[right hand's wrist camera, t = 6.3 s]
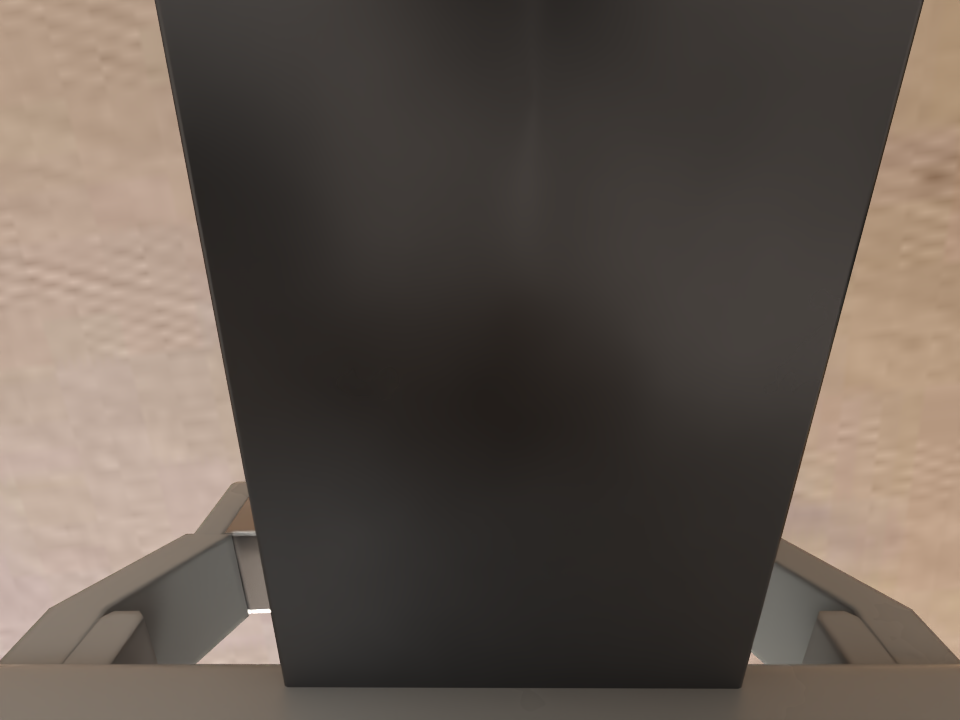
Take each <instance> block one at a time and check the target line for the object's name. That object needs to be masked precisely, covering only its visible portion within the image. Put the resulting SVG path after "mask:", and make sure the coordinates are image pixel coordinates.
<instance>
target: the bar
mask: <svg viewBox="0 0 960 720" xmlns="http://www.w3.org/2000/svg"><path fill="white" fill-rule="evenodd" d="M923 2H924V0H155V4H156V10H157V15H158V20H159V26H160V31H161V36H162V41H163V47H164V52H165V57H166V62H167V68H168V73H169V78H170V84H171V89H172V94H173V99H174V105H175V110H176V115H177V120H178V126H179V131H180V136H181V142H182V147H183V152H184V157H185V163H186V168H187V173H188V179H189V184H190V189H191V194H192V200H193V205H194V210H195V215H196V221H197V226H198V231H199V237H200V242H201V247H202V252H203V258H204V263H205V268H206V273H207V279H208V284H209V289H210V295H211V300H212V305H213V310H214V316H215V321H216V326H217V332H218V337H219V342H220V347H221V353H222V358H223V363H224V368H225V374H226V379H227V384H228V390H229V395H230V400H231V405H232V411H233V416H234V421H235V426H236V432H237V437H238V442H239V448H240V453H241V458H242V463H243V469H244V474H245V479H246V485H247V490H248V495H249V500H250V506H251V511H252V516H253V521H254V527H255V532H256V537H257V543H258V548H259V553H260V558H261V564H262V569H263V574H264V580H265V585H266V590H267V595H268V601H269V606H270V611H271V616H272V622H273V627H274V632H275V638H276V643H277V648H278V653H279V659H280V664H281V669H282V674H283V680H284V685H285V686H286V687H350V688H650V689H739V688H741V687H742V683H743V680H744V676H745V672H746V668H747V665H748V661H749V657H750V653H751V650H752V646H753V642H754V638H755V635H756V631H757V627H758V623H759V619H760V616H761V612H762V608H763V604H764V601H765V597H766V593H767V589H768V586H769V582H770V578H771V574H772V570H773V567H774V563H775V559H776V555H777V552H778V548H779V544H780V540H781V537H782V533H783V529H784V525H785V521H786V518H787V514H788V510H789V506H790V503H791V499H792V495H793V491H794V488H795V484H796V480H797V476H798V473H799V469H800V465H801V461H802V457H803V454H804V450H805V446H806V442H807V439H808V435H809V431H810V427H811V424H812V420H813V416H814V412H815V408H816V405H817V401H818V397H819V393H820V390H821V386H822V382H823V378H824V375H825V371H826V367H827V363H828V359H829V356H830V352H831V348H832V344H833V341H834V337H835V333H836V329H837V326H838V322H839V318H840V314H841V311H842V307H843V303H844V299H845V295H846V292H847V288H848V284H849V280H850V277H851V273H852V269H853V265H854V262H855V258H856V254H857V250H858V246H859V243H860V239H861V235H862V231H863V228H864V224H865V220H866V216H867V213H868V209H869V205H870V201H871V197H872V194H873V190H874V186H875V182H876V179H877V175H878V171H879V167H880V164H881V160H882V156H883V152H884V148H885V145H886V141H887V137H888V133H889V130H890V126H891V122H892V118H893V115H894V111H895V107H896V103H897V100H898V96H899V92H900V88H901V84H902V81H903V77H904V73H905V69H906V66H907V62H908V58H909V54H910V51H911V47H912V43H913V39H914V35H915V32H916V28H917V24H918V20H919V17H920V13H921V9H922V5H923Z"/></svg>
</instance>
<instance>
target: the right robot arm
mask: <svg viewBox="0 0 960 720" xmlns="http://www.w3.org/2000/svg"><path fill="white" fill-rule="evenodd" d="M248 613H271V611H270V606H269V601H268V595H267V590H266V585H265V580H264V574H263V569H262V564H261V558H260V553H259V548H258V543H257V537H256V532H255V527H254V521H253V516H252V511H251V506H250V500H249V495H248V490H247V485H246V482H236V483H233V484H231V485H230V487H229V488H228V489H227V491H226V492H225V493H224V495H223V496H222V497H221V499H220V500H219V501H218V503H217V504H216V505H215V507H214V508H213V509H212V511H211V512H210V513H209V515H208V516H207V517H206V519H205V520H204V521H203V523H202V524H201V525H200V527H199V528H198V529H197V531H196V532H195V533H194V534H185V535H183V536H182V537H180V538H178V539H176V540H174V541H172V542H171V543H169V544H167V545H165V546H163V547H161V548H160V549H158V550H156V551H154V552H152V553H150V554H149V555H147V556H145V557H143V558H141V559H139V560H137V561H136V562H134V563H132V564H130V565H128V566H126V567H125V568H123V569H121V570H119V571H117V572H115V573H114V574H112V575H110V576H108V577H106V578H104V579H103V580H101V581H99V582H97V583H95V584H93V585H92V586H90V587H88V588H86V589H84V590H82V591H81V592H79V593H77V594H75V595H73V596H71V597H70V598H68V599H66V600H64V601H62V602H60V603H59V604H57V605H55V606H53V607H51V608H49V609H48V610H47V611H46V612H45V614H44V615H43V616H42V617H41V618H40V619H39V620H38V621H37V622H36V623H35V624H34V625H33V626H32V627H31V628H30V629H29V630H28V632H27V633H26V634H25V635H24V636H23V637H22V638H21V639H20V640H19V641H18V642H17V643H16V644H15V645H14V646H13V647H12V648H11V650H10V651H9V652H8V653H7V654H6V655H5V656H4V657H3V658H2V659H1V660H0V720H960V660H959V659H958V658H957V657H956V656H955V655H954V654H953V653H952V652H951V651H950V650H949V648H948V647H947V646H946V645H945V644H944V643H943V642H942V641H941V640H940V639H939V638H938V637H937V636H936V635H935V634H934V632H933V631H932V630H931V629H930V628H929V627H928V626H927V625H926V624H925V623H924V622H923V621H922V620H921V619H920V618H919V617H918V615H917V614H916V613H915V612H914V611H913V610H912V609H910V608H908V607H906V606H905V605H903V604H901V603H899V602H897V601H895V600H894V599H892V598H890V597H888V596H886V595H885V594H883V593H881V592H879V591H877V590H875V589H874V588H872V587H870V586H868V585H866V584H864V583H863V582H861V581H859V580H857V579H855V578H853V577H852V576H850V575H848V574H846V573H844V572H842V571H841V570H839V569H837V568H835V567H833V566H831V565H830V564H828V563H826V562H824V561H822V560H820V559H819V558H817V557H815V556H813V555H811V554H809V553H808V552H806V551H804V550H802V549H800V548H799V547H797V546H795V545H793V544H791V543H789V542H788V541H786V540H784V539H782V538H781V540H780V544H779V548H778V552H777V555H776V559H775V563H774V567H773V570H772V574H771V578H770V582H769V586H768V589H767V593H766V597H765V601H764V604H763V608H762V612H761V616H760V619H759V623H758V627H757V631H756V635H755V638H754V642H753V646H752V650H751V652H752V653H753V654H754V655H755V656H756V657H757V658H758V659H760V660H761V661H762V662H763V663H764V664H748V665H747V668H746V672H745V676H744V680H743V683H742V687H741V688H739V689H650V688H350V687H286V686H285V685H284V680H283V674H282V669H281V664H196V663H197V662H198V661H199V660H201V659H202V658H203V657H204V656H205V655H206V654H207V653H208V652H209V651H210V650H212V649H213V648H214V647H215V646H216V645H217V644H218V643H219V642H220V641H221V640H223V639H224V638H225V637H226V636H227V635H228V634H229V633H230V632H231V631H233V630H234V629H235V628H236V627H237V626H238V625H239V624H240V623H241V622H242V621H244V620H245V619H246V618H247V617H248V616H249V614H248Z"/></svg>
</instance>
